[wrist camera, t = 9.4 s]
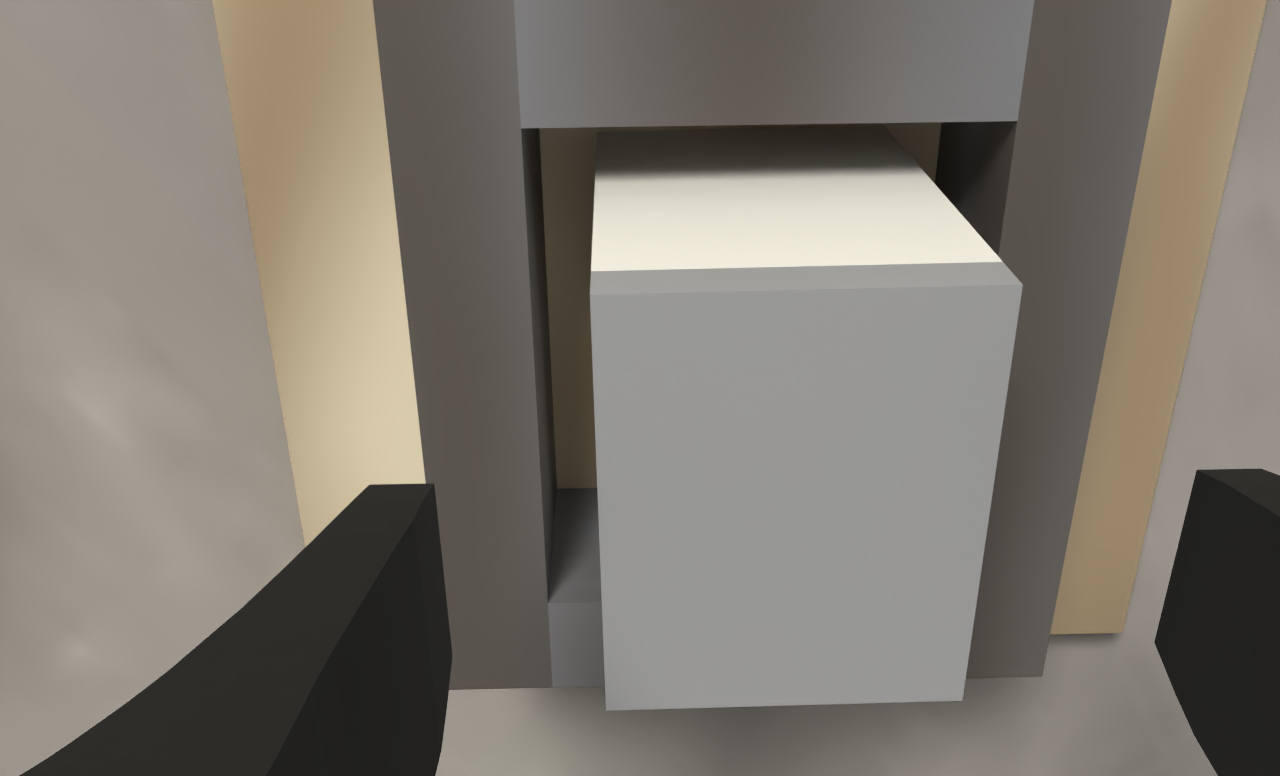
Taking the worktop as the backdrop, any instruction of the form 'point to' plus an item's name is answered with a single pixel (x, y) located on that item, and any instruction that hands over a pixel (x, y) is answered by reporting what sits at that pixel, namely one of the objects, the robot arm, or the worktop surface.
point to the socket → (562, 251)
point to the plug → (790, 418)
